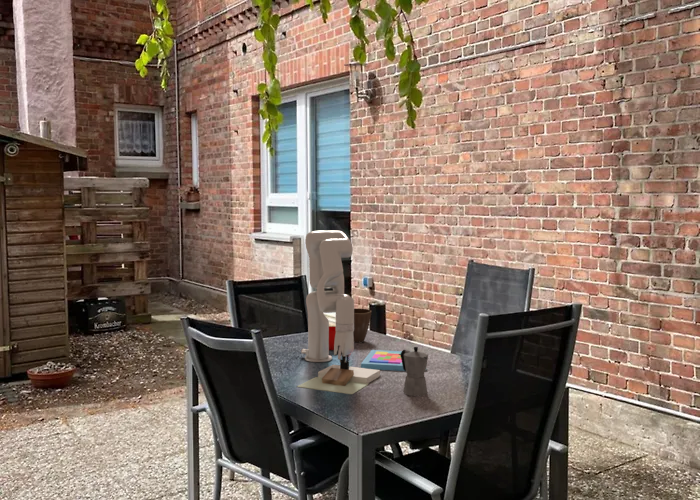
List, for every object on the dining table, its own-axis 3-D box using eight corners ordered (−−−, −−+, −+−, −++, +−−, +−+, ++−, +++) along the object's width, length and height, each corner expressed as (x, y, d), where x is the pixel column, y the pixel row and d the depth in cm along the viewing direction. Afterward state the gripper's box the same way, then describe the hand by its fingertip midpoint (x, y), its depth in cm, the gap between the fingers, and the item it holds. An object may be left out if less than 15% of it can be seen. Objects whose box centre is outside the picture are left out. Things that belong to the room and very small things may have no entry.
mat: (297, 386, 276) (297, 386, 276) (316, 377, 291) (316, 376, 291) (352, 394, 266) (352, 393, 266) (368, 384, 281) (368, 383, 281)
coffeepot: (436, 395, 266) (436, 348, 265) (417, 399, 261) (417, 351, 259) (410, 386, 279) (410, 341, 277) (391, 389, 273) (391, 344, 272)
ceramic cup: (352, 346, 352) (352, 326, 351) (334, 352, 337) (335, 332, 336) (330, 343, 358) (330, 324, 358) (312, 349, 344) (312, 329, 343)
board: (318, 377, 291) (318, 371, 290) (333, 370, 303) (333, 364, 303) (366, 384, 281) (366, 377, 281) (380, 376, 294) (380, 370, 294)
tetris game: (360, 369, 306) (424, 373, 301) (361, 363, 306) (425, 366, 301) (371, 355, 334) (430, 358, 328) (371, 349, 334) (430, 352, 328)
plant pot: (371, 344, 357) (371, 313, 355) (342, 344, 357) (342, 313, 356) (370, 338, 371) (371, 308, 370) (342, 338, 372) (343, 308, 370)
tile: (322, 382, 281) (321, 378, 281) (331, 371, 289) (331, 367, 288) (344, 385, 277) (344, 381, 276) (353, 374, 285) (353, 370, 284)
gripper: (344, 323, 295) (344, 366, 296) (328, 329, 281) (328, 374, 282) (360, 325, 291) (360, 368, 293) (345, 331, 278) (345, 376, 279)
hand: (344, 371), depth 288 cm, fingers closed
